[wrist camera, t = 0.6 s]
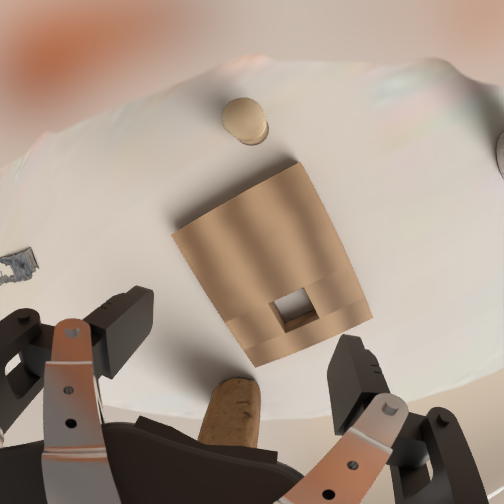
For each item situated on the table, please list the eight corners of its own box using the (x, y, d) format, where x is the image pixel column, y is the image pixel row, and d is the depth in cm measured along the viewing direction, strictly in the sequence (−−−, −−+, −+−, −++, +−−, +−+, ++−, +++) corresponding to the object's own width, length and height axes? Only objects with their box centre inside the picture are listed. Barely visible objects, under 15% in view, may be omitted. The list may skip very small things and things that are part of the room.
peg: (260, 113, 32) (250, 90, 22) (275, 139, 33) (272, 124, 23) (233, 128, 33) (214, 110, 23) (248, 153, 33) (234, 144, 24)
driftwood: (35, 246, 42) (28, 248, 40) (44, 278, 44) (37, 282, 42) (-4, 257, 45) (-10, 259, 43) (3, 283, 47) (-3, 286, 45)
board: (299, 163, 33) (300, 161, 30) (367, 307, 37) (373, 317, 34) (179, 230, 37) (170, 234, 34) (257, 355, 41) (255, 367, 38)
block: (216, 372, 43) (180, 470, 24) (261, 374, 42) (245, 479, 23) (223, 414, 46) (198, 501, 26) (263, 416, 45) (250, 508, 26)
